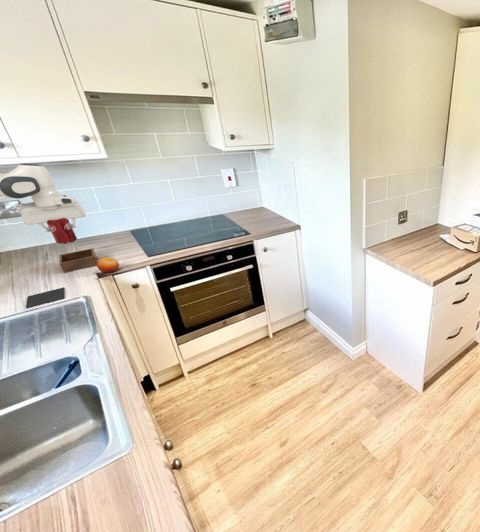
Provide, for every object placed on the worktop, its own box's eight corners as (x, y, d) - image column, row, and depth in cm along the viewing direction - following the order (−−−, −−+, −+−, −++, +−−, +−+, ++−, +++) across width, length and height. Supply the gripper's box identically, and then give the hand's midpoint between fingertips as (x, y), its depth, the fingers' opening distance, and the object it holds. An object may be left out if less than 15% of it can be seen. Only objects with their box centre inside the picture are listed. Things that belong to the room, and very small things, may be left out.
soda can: (56, 246, 148) (44, 221, 143) (57, 241, 153) (45, 217, 148) (77, 242, 153) (66, 218, 147) (77, 237, 157) (67, 214, 152)
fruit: (97, 266, 155) (102, 252, 153) (118, 271, 159) (123, 258, 158) (91, 274, 148) (96, 259, 147) (112, 279, 153) (117, 265, 151)
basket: (64, 273, 152) (59, 263, 150) (64, 264, 160) (59, 254, 158) (99, 265, 160) (94, 256, 157) (97, 256, 168) (92, 248, 165)
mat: (26, 308, 126) (25, 307, 126) (28, 297, 133) (27, 296, 133) (64, 298, 133) (64, 297, 133) (64, 288, 140) (63, 287, 140)
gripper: (13, 206, 135) (29, 236, 142) (78, 198, 148) (90, 226, 154) (14, 202, 139) (30, 232, 146) (77, 195, 152) (89, 223, 158)
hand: (61, 229), depth 150 cm, fingers closed on soda can, 7 cm apart
